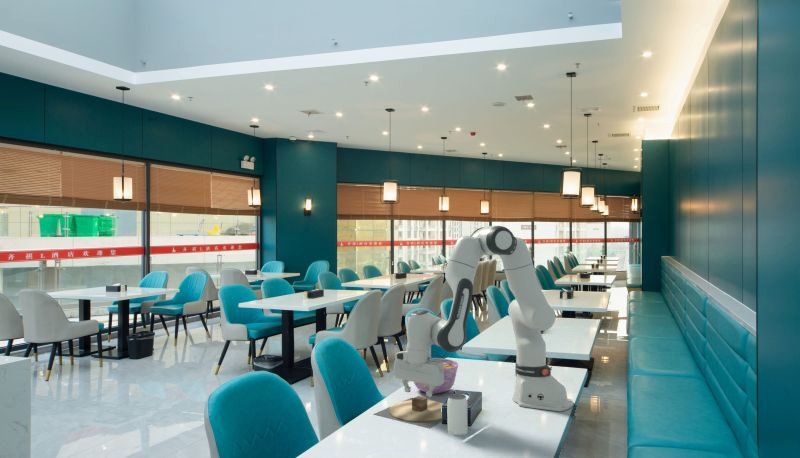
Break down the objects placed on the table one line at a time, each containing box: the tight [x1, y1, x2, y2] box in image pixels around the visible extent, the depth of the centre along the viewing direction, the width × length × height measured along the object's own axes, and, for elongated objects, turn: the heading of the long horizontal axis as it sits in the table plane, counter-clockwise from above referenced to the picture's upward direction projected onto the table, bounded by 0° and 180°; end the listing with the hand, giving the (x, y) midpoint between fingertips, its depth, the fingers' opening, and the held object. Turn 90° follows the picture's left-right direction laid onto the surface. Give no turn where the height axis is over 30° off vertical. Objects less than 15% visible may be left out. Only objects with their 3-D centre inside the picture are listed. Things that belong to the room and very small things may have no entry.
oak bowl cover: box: [389, 395, 444, 422], centre depth 197 cm, size 22×22×5 cm
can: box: [446, 393, 468, 436], centre depth 178 cm, size 6×6×12 cm
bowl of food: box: [413, 357, 459, 395], centre depth 223 cm, size 20×20×12 cm
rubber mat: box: [372, 397, 443, 429], centre depth 197 cm, size 24×24×1 cm
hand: (418, 394), depth 197 cm, fingers open, 8 cm apart
